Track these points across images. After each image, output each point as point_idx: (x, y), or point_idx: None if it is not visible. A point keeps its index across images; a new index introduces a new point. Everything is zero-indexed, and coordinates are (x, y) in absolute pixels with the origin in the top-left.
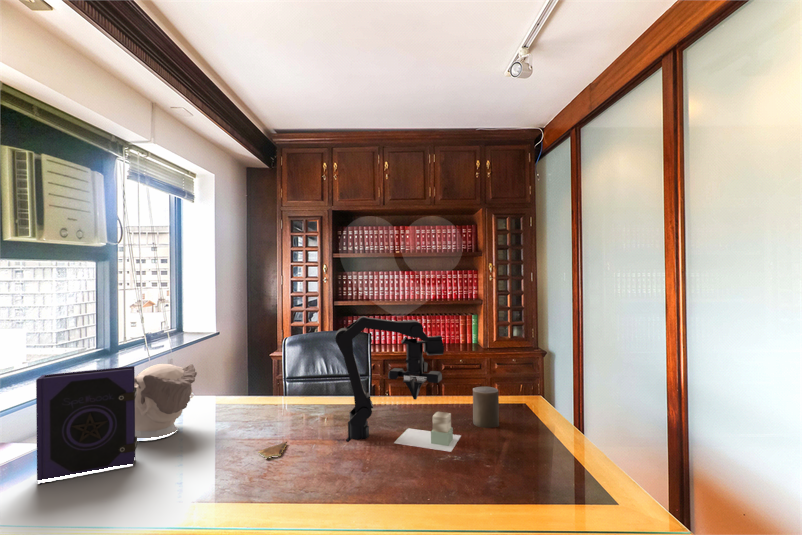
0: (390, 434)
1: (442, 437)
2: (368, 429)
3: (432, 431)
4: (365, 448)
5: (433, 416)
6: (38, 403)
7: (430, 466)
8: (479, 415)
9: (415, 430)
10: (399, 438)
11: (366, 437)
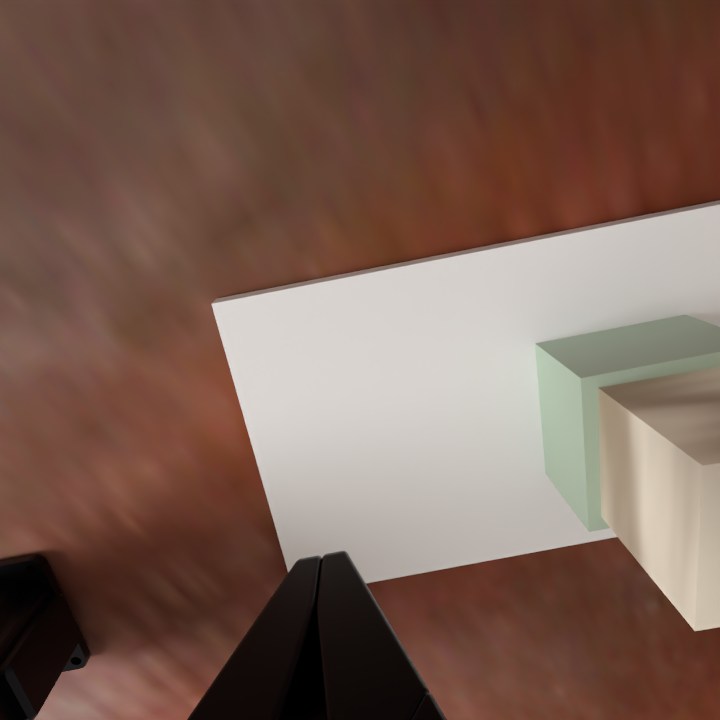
0: (138, 435)
1: None
2: (31, 654)
3: (602, 525)
4: (163, 685)
5: (706, 626)
6: None
7: (632, 670)
8: None
9: (303, 314)
10: (284, 518)
11: (73, 641)
